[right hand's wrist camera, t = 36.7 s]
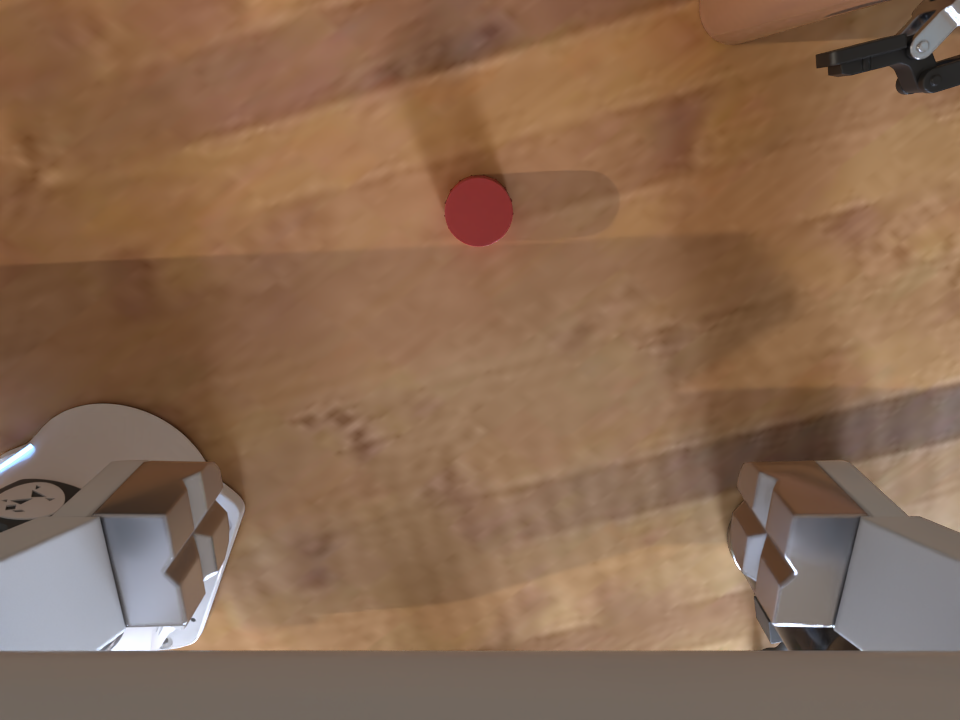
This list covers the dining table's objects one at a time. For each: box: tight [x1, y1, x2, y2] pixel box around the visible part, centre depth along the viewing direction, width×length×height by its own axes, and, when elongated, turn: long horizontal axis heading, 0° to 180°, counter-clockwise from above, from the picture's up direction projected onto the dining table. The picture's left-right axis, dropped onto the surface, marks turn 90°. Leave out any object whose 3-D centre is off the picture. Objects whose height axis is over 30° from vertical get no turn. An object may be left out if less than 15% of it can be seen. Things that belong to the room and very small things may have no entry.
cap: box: [444, 175, 513, 246], centre depth 42 cm, size 4×4×2 cm
